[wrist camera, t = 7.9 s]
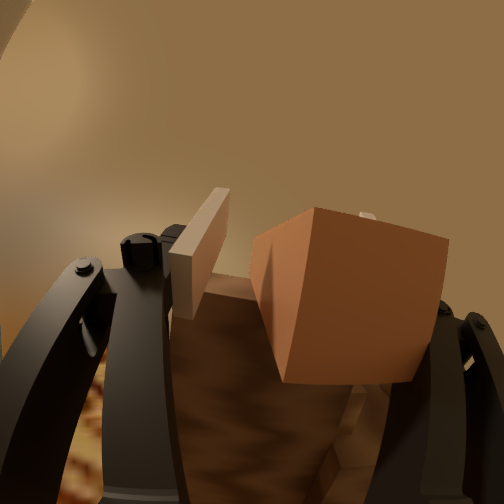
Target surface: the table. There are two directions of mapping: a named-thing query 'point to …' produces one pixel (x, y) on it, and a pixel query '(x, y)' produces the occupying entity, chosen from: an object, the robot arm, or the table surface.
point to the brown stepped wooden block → (264, 413)
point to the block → (347, 297)
